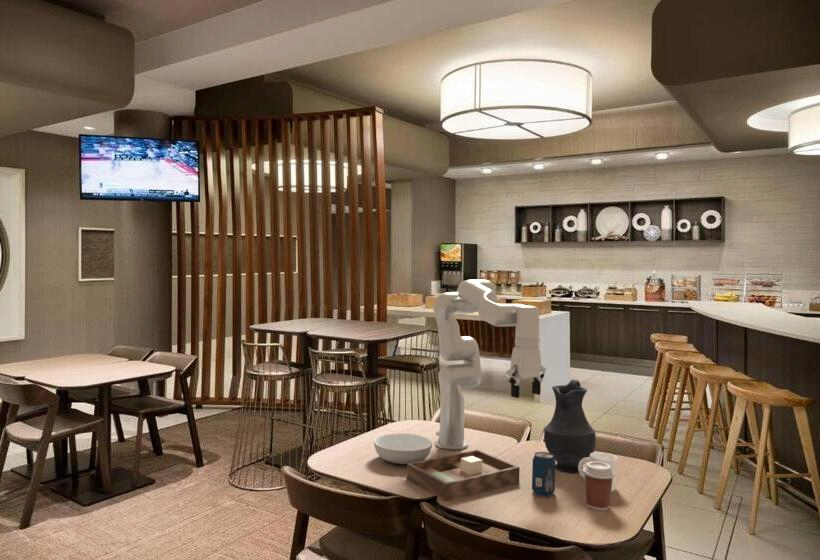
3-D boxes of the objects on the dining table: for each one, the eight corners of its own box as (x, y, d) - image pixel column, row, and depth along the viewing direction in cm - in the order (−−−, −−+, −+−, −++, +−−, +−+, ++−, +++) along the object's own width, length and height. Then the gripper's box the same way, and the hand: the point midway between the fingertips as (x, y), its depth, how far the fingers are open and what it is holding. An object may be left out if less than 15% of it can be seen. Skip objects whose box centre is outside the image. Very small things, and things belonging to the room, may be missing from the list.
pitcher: (537, 471, 197) (539, 384, 197) (552, 455, 216) (554, 375, 215) (589, 481, 189) (592, 390, 189) (600, 463, 208) (602, 380, 207)
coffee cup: (607, 499, 174) (608, 460, 174) (619, 512, 165) (620, 470, 165) (577, 499, 174) (578, 459, 174) (587, 512, 165) (588, 470, 165)
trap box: (477, 463, 204) (477, 449, 204) (519, 482, 187) (519, 467, 187) (406, 478, 188) (407, 463, 188) (445, 501, 170) (445, 484, 170)
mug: (574, 486, 184) (574, 454, 184) (581, 479, 191) (582, 448, 191) (612, 495, 178) (613, 462, 178) (619, 487, 185) (619, 455, 184)
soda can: (538, 487, 183) (539, 449, 183) (558, 493, 179) (559, 454, 178) (527, 493, 178) (528, 454, 177) (548, 499, 173) (549, 460, 173)
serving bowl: (408, 474, 192) (408, 454, 192) (361, 461, 205) (362, 441, 205) (443, 459, 209) (443, 440, 208) (397, 447, 221) (398, 429, 221)
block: (460, 470, 190) (460, 458, 190) (472, 467, 193) (472, 455, 193) (470, 474, 186) (470, 462, 186) (482, 472, 189) (482, 460, 189)
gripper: (536, 340, 196) (535, 390, 196) (499, 343, 186) (498, 396, 187) (553, 343, 190) (552, 395, 190) (516, 346, 180) (514, 400, 180)
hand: (525, 395), depth 188 cm, fingers open, 9 cm apart
